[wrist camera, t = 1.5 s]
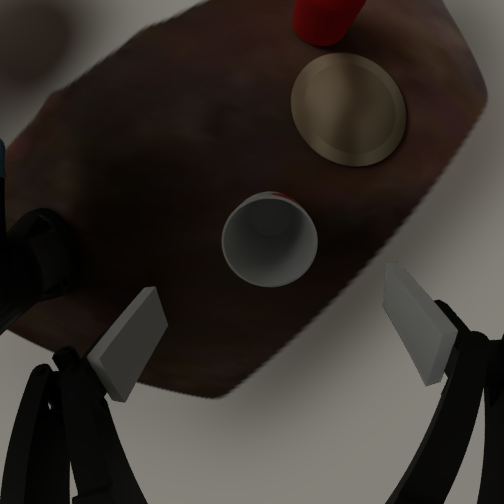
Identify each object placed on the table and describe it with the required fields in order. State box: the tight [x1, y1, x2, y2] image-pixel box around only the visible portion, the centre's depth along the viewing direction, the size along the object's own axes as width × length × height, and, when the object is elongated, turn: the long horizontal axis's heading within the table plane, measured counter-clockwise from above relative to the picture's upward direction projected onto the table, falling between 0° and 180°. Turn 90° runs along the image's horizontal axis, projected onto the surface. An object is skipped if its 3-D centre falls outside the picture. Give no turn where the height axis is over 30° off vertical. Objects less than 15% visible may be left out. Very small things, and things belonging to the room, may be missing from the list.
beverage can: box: [292, 0, 366, 46], centre depth 18 cm, size 6×6×12 cm
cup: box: [222, 192, 318, 287], centre depth 28 cm, size 8×8×10 cm
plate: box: [291, 53, 406, 166], centre depth 27 cm, size 14×14×1 cm
